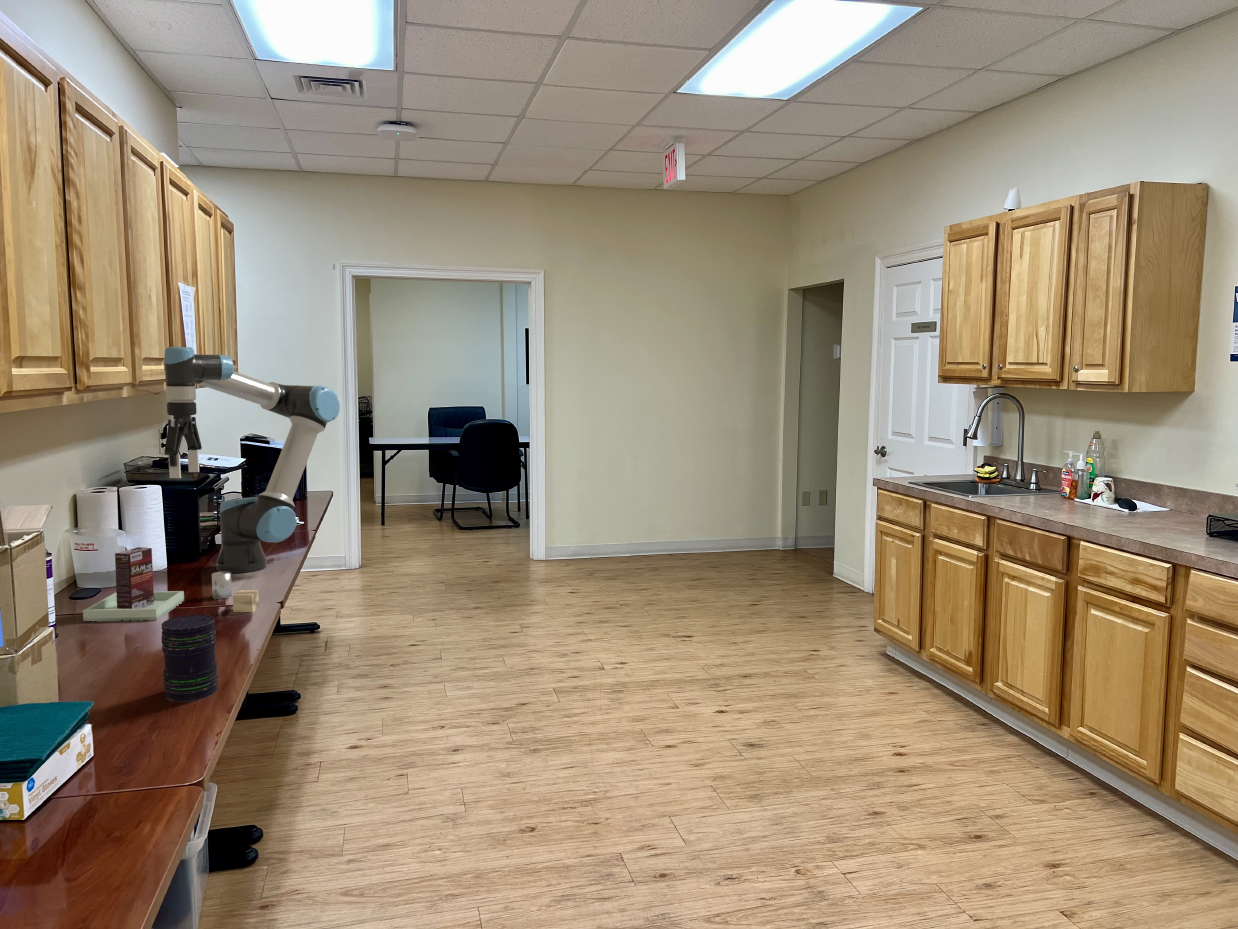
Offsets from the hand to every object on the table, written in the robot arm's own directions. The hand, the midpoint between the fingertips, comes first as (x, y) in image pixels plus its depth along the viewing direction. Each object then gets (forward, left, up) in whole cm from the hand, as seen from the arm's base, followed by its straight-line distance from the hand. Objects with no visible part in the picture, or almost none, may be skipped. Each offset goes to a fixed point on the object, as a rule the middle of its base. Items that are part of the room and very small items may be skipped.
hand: (184, 475), depth 246 cm
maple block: (+20, +22, -35) cm, 46 cm away
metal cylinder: (+6, +11, -35) cm, 37 cm away
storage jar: (+80, +30, -35) cm, 92 cm away
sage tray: (+19, -7, -35) cm, 40 cm away
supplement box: (+19, -7, -34) cm, 39 cm away
